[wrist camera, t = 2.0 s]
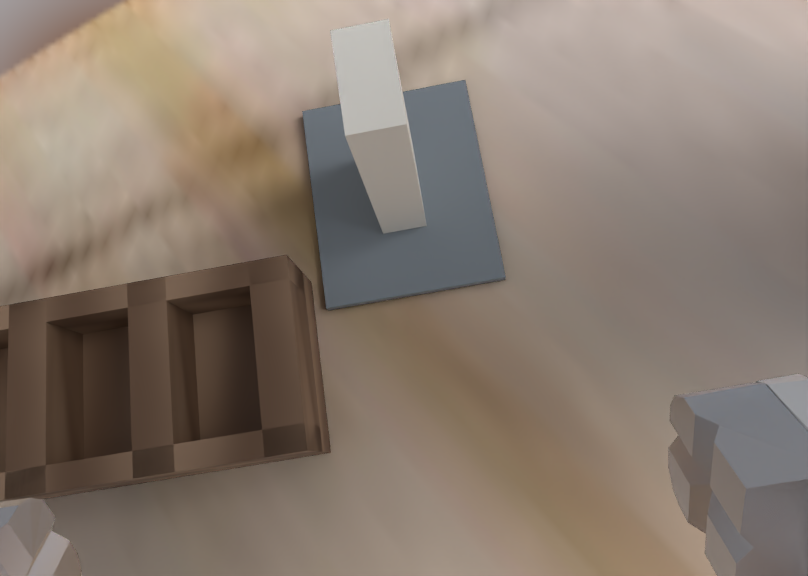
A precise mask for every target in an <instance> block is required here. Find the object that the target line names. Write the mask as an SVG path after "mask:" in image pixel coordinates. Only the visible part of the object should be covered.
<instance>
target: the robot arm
mask: <svg viewBox="0 0 808 576" xmlns="http://www.w3.org/2000/svg"><path fill="white" fill-rule="evenodd" d="M670 422H671V424H672V425H673V427H674V429H675V430H676V432H677V434H678V435H679V436H678V437H677V438H676V439H675V440H674V442H673V443H672V444H671V445H670V446H669V448H668V468H669V473H670V478H671V483H672V487H673V491H674V493H675V496H676V499H677V501H678V504H679V506H680V508H681V510H682V512H683V514H684V516H685V518H686V520H687V522H688V523H690V524H691V525H693V526H694V527H696V528H698V529H699V530H701V531H702V532H704V533H706V541H705V555H706V557H707V558H708V560H709V562H710V564H711V566H712V567H713V569H714V571H715V573H716V575H717V576H808V377H806V376H803V375H801V374H794V375H788V376H783V377H777V378H771V379H766V380H760V381H757V382H755V383H746V384H740V385H734V386H728V387H722V388H716V389H710V390H704V391H698V392H692V393H686V394H680V395H674V397H673V400H672V402H671V405H670ZM55 518H56V517H55V516H54V514H53V513H52V511H51V510H50V508H49V507H48V506H47V504H46V503H45V501H44V500H43V499H35V498H25V499H18V500H10V501H3V502H0V576H81V571H82V570H81V566H80V562H79V557H78V553H77V552H76V550H75V548H74V547H73V545H72V543H71V542H70V540H68V539H66V538H64V537H62V536H61V535H59V534H57V533H55V532H53V531H51V530H52V527H53V524H54V521H55Z"/></svg>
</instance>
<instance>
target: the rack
mask: <svg viewBox="0 0 808 576" xmlns="http://www.w3.org/2000/svg"><path fill="white" fill-rule="evenodd" d="M325 453H331V449H330V441H329V432H328V423H327V415H326V406H325V397H324V389H323V380H322V371H321V363H320V354H319V345H318V337H317V328H316V319H315V311H314V302H313V293H312V285H311V282H310V280H309V279H308V278H307V277H306V276H305V275H304V274H303V273H302V271H301V270H300V269H299V268H298V267H297V266H296V265H295V264H294V262H293V261H292V260H291V259H290V258H289V257H288V256H287V255H283V256H277V257H272V258H266V259H260V260H255V261H249V262H244V263H238V264H233V265H227V266H222V267H216V268H211V269H205V270H199V271H194V272H188V273H183V274H177V275H172V276H166V277H161V278H155V279H150V280H144V281H138V282H133V283H127V284H122V285H116V286H111V287H105V288H100V289H94V290H89V291H83V292H77V293H72V294H66V295H61V296H55V297H50V298H44V299H39V300H33V301H28V302H22V303H17V304H11V305H5V306H0V502H3V501H10V500H18V499H25V498H35V499H46V498H52V497H58V496H64V495H71V494H77V493H83V492H89V491H95V490H102V489H108V488H114V487H120V486H127V485H133V484H139V483H145V482H151V481H158V480H164V479H170V478H176V477H182V476H189V475H195V474H201V473H207V472H214V471H220V470H226V469H232V468H238V467H245V466H251V465H257V464H263V463H269V462H276V461H282V460H288V459H294V458H301V457H307V456H313V455H319V454H325Z"/></svg>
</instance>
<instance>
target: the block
mask: <svg viewBox="0 0 808 576" xmlns="http://www.w3.org/2000/svg"><path fill="white" fill-rule="evenodd" d="M330 33H331V40H332V47H333V54H334V61H335V68H336V75H337V82H338V90H339V97H340V104H341V111H342V118H343V125H344V132H345V137H346V140H347V142H348V145H349V147H350V150H351V152H352V155H353V158H354V160H355V163H356V165H357V168H358V170H359V173H360V176H361V178H362V181H363V183H364V186H365V188H366V191H367V193H368V196H369V199H370V201H371V204H372V206H373V209H374V211H375V214H376V216H377V219H378V222H379V224H380V227H381V229H382V232H383V234H384V233H390V232H395V231H401V230H406V229H412V228H417V227H423V226H427V225H426V219H425V213H424V207H423V201H422V196H421V190H420V184H419V178H418V172H417V167H416V161H415V155H414V149H413V144H412V139H411V133H410V128H409V123H408V118H407V112H406V107H405V102H404V97H403V91H402V86H401V81H400V76H399V70H398V65H397V60H396V54H395V49H394V44H393V39H392V33H391V28H390V23H389V19H386V20H381V21H376V22H371V23H366V24H361V25H356V26H351V27H346V28H341V29H336V30H331V31H330Z"/></svg>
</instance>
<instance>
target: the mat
mask: <svg viewBox="0 0 808 576" xmlns="http://www.w3.org/2000/svg"><path fill="white" fill-rule="evenodd" d="M403 97H404V102H405V107H406V112H407V118H408V123H409V128H410V133H411V139H412V144H413V149H414V155H415V161H416V167H417V172H418V178H419V184H420V190H421V196H422V201H423V207H424V213H425V219H426V225H427V226H423V227H417V228H412V229H406V230H401V231H395V232H390V233H384V234H383V232H382V229H381V227H380V224H379V222H378V219H377V216H376V214H375V211H374V209H373V206H372V204H371V201H370V199H369V196H368V193H367V191H366V188H365V186H364V183H363V181H362V178H361V176H360V173H359V170H358V168H357V165H356V163H355V160H354V158H353V155H352V152H351V150H350V147H349V145H348V142H347V140H346V137H345V132H344V125H343V118H342V111H341V104H338V105H333V106H328V107H322V108H317V109H312V110H307V111H302V112H303V120H304V129H305V137H306V145H307V153H308V162H309V170H310V178H311V187H312V195H313V203H314V211H315V220H316V228H317V236H318V244H319V253H320V261H321V269H322V278H323V286H324V294H325V302H326V309H327V310H334V309H340V308H345V307H351V306H357V305H362V304H368V303H374V302H380V301H385V300H391V299H397V298H403V297H408V296H414V295H420V294H426V293H431V292H437V291H443V290H448V289H454V288H460V287H466V286H471V285H477V284H483V283H489V282H494V281H500V280H505V278H506V276H505V272H504V267H503V262H502V257H501V252H500V247H499V242H498V237H497V233H496V228H495V223H494V218H493V213H492V208H491V203H490V198H489V194H488V189H487V184H486V179H485V174H484V169H483V164H482V159H481V155H480V150H479V145H478V140H477V135H476V130H475V125H474V121H473V116H472V111H471V106H470V101H469V96H468V91H467V86H466V82H465V80H462V81H457V82H452V83H446V84H441V85H436V86H431V87H426V88H421V89H415V90H410V91H405V92H403Z"/></svg>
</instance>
